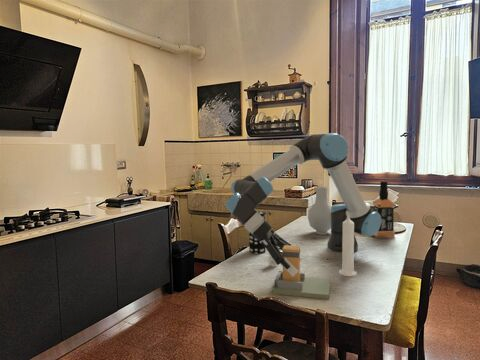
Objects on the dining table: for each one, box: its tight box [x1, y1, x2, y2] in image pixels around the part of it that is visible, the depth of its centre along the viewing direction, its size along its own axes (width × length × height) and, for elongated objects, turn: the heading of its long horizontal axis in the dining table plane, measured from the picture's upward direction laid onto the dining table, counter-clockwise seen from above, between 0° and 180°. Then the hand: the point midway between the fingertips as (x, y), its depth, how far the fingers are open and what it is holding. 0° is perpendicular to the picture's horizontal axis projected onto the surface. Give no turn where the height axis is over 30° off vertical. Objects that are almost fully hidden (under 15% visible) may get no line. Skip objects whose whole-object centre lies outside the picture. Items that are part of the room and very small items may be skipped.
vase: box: [307, 186, 333, 236], centre depth 208 cm, size 17×16×28 cm
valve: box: [268, 247, 282, 268], centre depth 159 cm, size 7×7×12 cm
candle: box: [338, 215, 358, 278], centre depth 143 cm, size 7×7×25 cm
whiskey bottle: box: [372, 180, 396, 239], centre depth 199 cm, size 10×10×32 cm
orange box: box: [281, 244, 301, 282], centre depth 131 cm, size 6×5×14 cm
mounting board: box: [272, 270, 331, 300], centre depth 131 cm, size 20×15×4 cm
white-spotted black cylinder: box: [248, 210, 267, 255], centre depth 176 cm, size 8×8×20 cm
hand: (297, 267), depth 131 cm, fingers open, 13 cm apart
